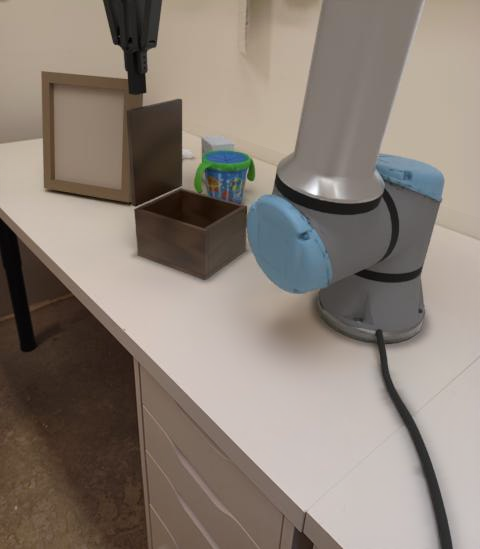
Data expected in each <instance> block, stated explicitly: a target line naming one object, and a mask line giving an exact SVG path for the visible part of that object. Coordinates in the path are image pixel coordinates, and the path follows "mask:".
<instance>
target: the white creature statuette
mask: <svg viewBox="0 0 480 549" xmlns="http://www.w3.org/2000/svg"><path fill="white" fill-rule="evenodd" d="M184 159H188V160H189V159H190V160H192V159H193V151H192V150H189V149H187V148H182V160H184Z"/></svg>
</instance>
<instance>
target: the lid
mask: <svg viewBox="0 0 480 549" xmlns="http://www.w3.org/2000/svg"><path fill="white" fill-rule="evenodd" d="M126 114H127V131H128V147H129V164H130V180H131V196H132V202H131V206H132V207H134V208H138V207H140V206H142V205H144V204H147V203H149V202H151V201H153V200H155V199H158V198H160V197H162V196H164V195H167V194H169V193H171V192H173V191H175V190H178V189H180V188H182V187H183V159H182V149H183V99H182V98H175V99H171V100H166V101H161V102H157V103H153V104H149V105H144V106H143V107H139V108H135V109H130V110H126Z"/></svg>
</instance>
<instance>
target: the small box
mask: <svg viewBox="0 0 480 549" xmlns="http://www.w3.org/2000/svg"><path fill="white" fill-rule="evenodd" d="M200 141H201V143H200V144H201V157H202V156H203V154H205V153H207V152H211V151H220V150H227V151H235V144H234V143H233V142H232V141H231V140H229V139H228V138H226V137H225V136H224V135H213V136H211V135H210V136H202V137H201V140H200ZM202 181H204V182H205V183H206V177H205V171H204V172H203V173H202Z"/></svg>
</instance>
